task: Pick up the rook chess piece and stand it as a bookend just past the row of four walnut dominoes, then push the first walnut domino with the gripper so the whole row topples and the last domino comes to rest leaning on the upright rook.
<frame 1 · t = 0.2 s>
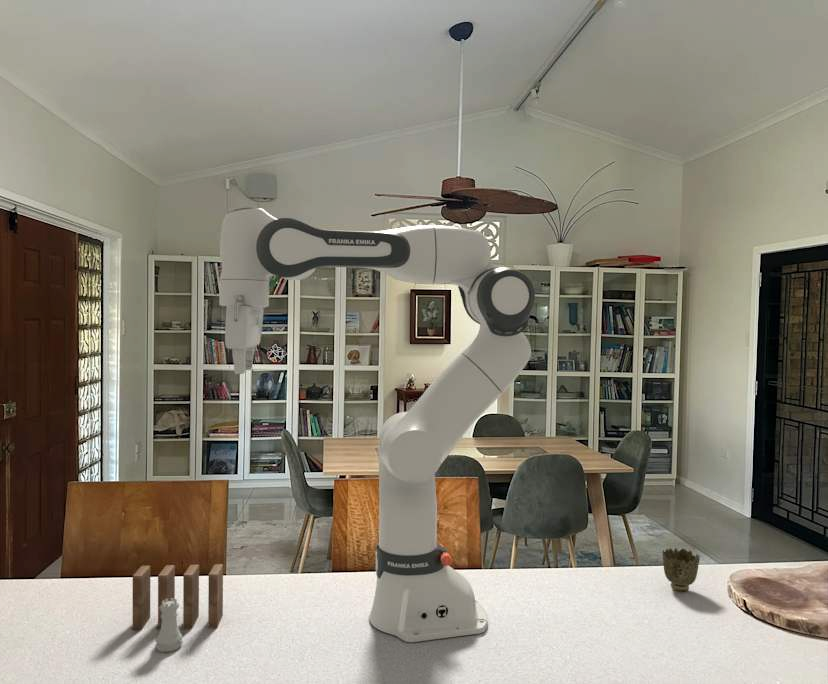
hand: (243, 371, 119), 47 cm above the counter, fingers open, 8 cm apart
domino 1: (215, 621, 121), on the counter
domino 4: (141, 623, 120), on the counter
domino 3: (166, 623, 120), on the counter
rook chess piece: (169, 647, 112), on the counter
cup: (679, 591, 139), on the counter
domino 2: (191, 622, 121), on the counter
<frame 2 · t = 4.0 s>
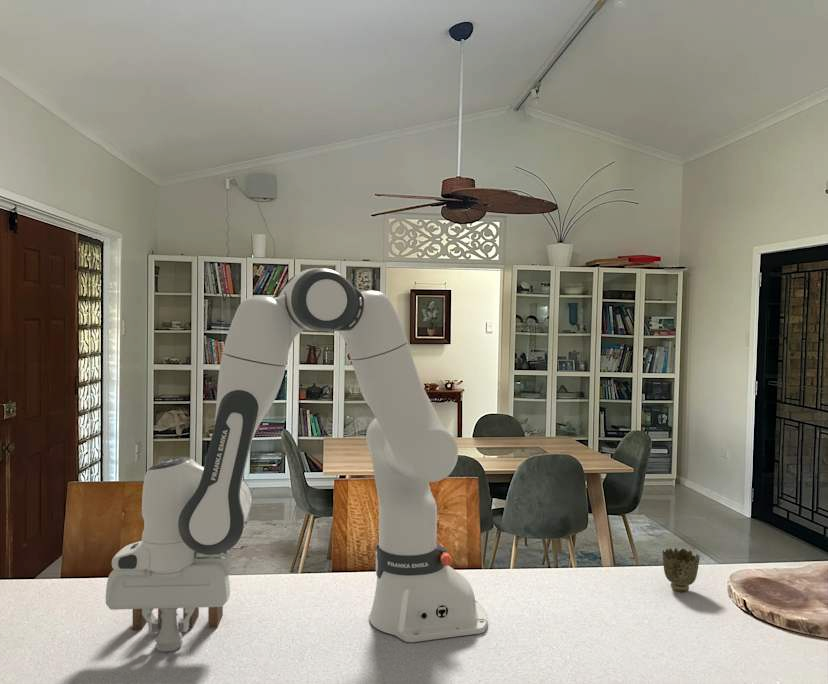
hand: (169, 631, 111), 3 cm above the counter, fingers closed on rook chess piece, 3 cm apart
rook chess piece: (169, 647, 112), on the counter, touching gripper
everything else where it was.
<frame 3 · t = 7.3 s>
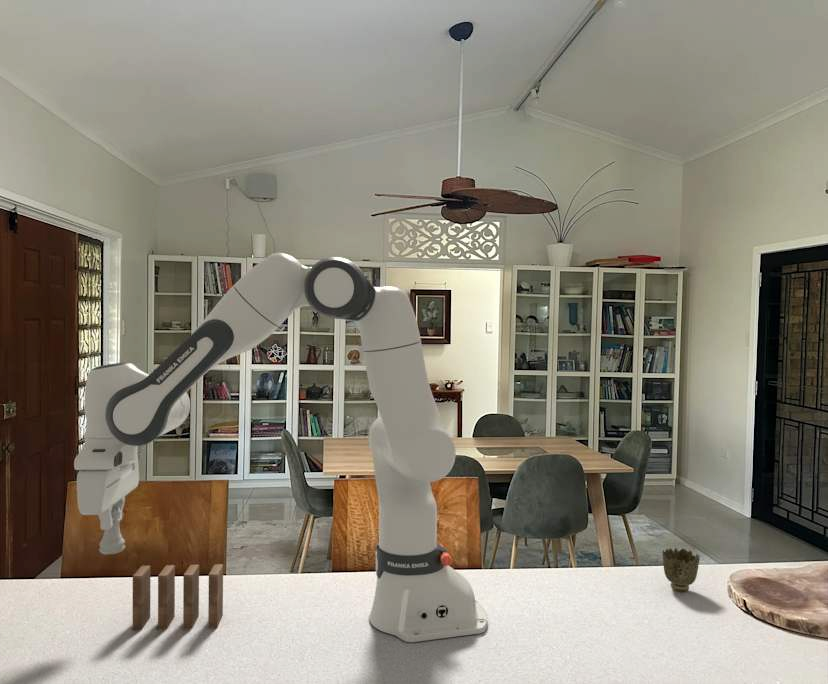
hand: (111, 524, 119), 19 cm above the counter, fingers closed on rook chess piece, 3 cm apart
rook chess piece: (112, 551, 119), point 14 cm above the counter, touching gripper
everything else where it was.
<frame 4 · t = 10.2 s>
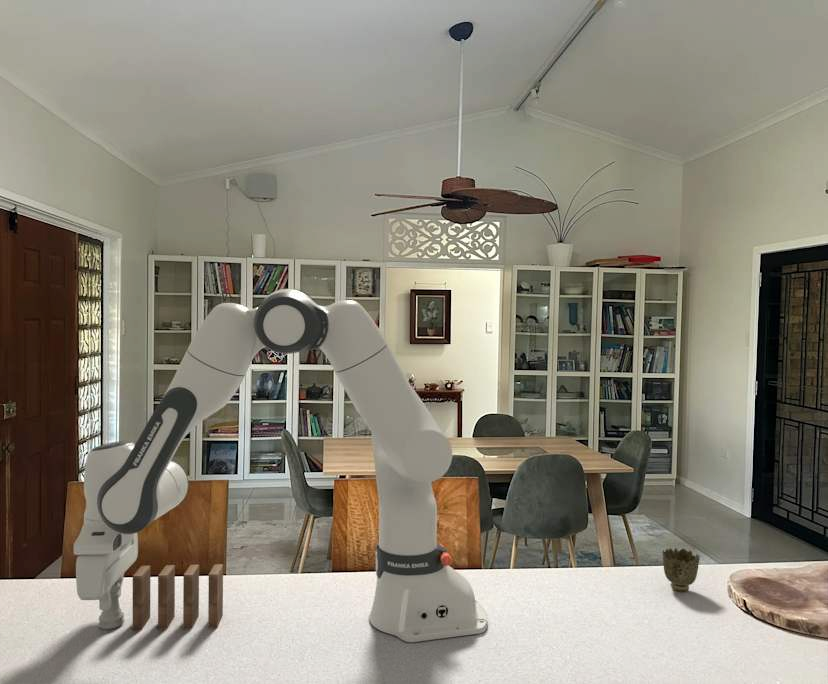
hand: (110, 603, 119), 4 cm above the counter, fingers closed on rook chess piece, 3 cm apart
rook chess piece: (111, 625, 119), on the counter, touching gripper
everything else where it was.
when the fingers open (4 cm above the counter, at t = 10.2 s): rook chess piece stays where it is, on the counter.
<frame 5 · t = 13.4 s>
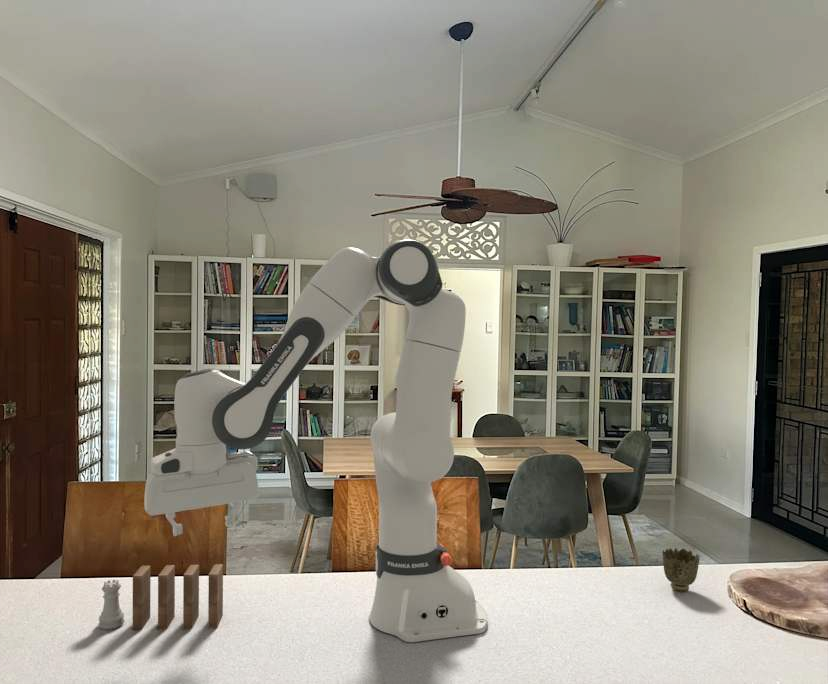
hand: (204, 530, 120), 18 cm above the counter, fingers open, 8 cm apart
rook chess piece: (111, 626, 119), on the counter
everything else where it was.
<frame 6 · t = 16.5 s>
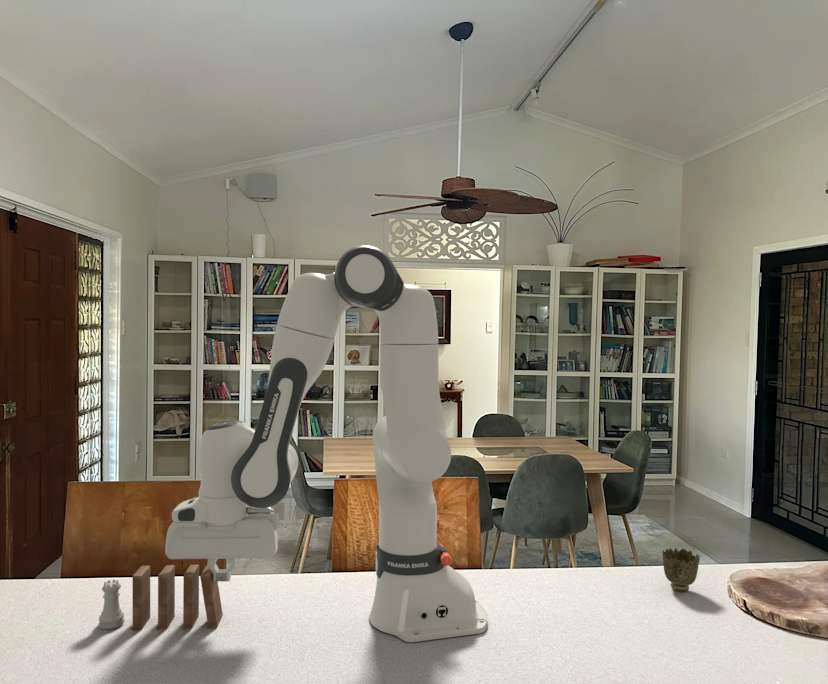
hand: (222, 580, 121), 8 cm above the counter, fingers closed
domino 1: (215, 621, 121), on the counter, tilted 9°
everything else where it was.
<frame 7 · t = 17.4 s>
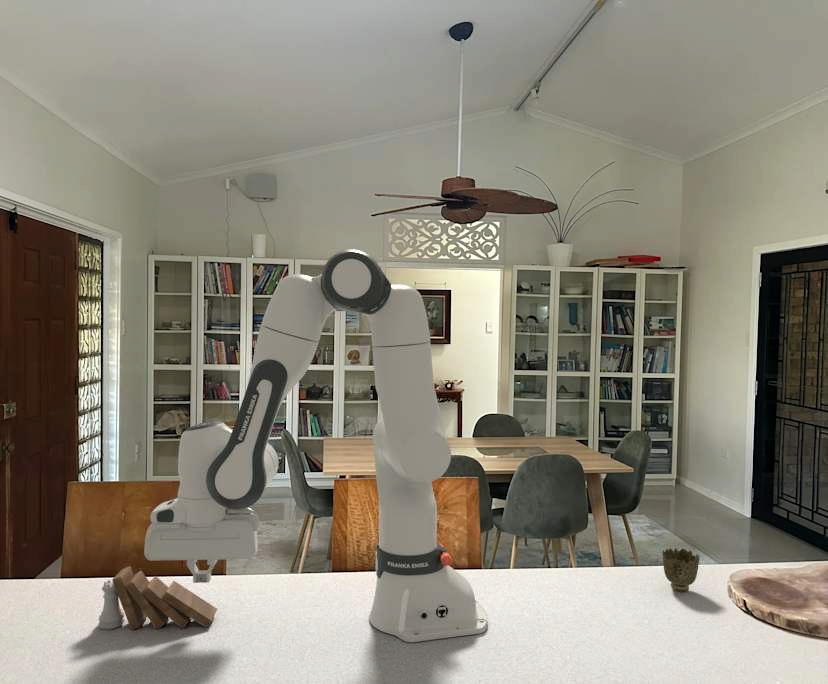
hand: (202, 581, 121), 8 cm above the counter, fingers closed
domino 1: (212, 618, 121), point 1 cm above the counter, tilted 55°, touching domino 2
domino 4: (140, 622, 120), on the counter, tilted 20°, touching domino 3, rook chess piece
domino 3: (164, 620, 120), on the counter, tilted 35°, touching domino 2, domino 4
rook chess piece: (111, 625, 119), on the counter, touching domino 4
domino 2: (188, 619, 121), point 1 cm above the counter, tilted 47°, touching domino 1, domino 3
everything else where it was.
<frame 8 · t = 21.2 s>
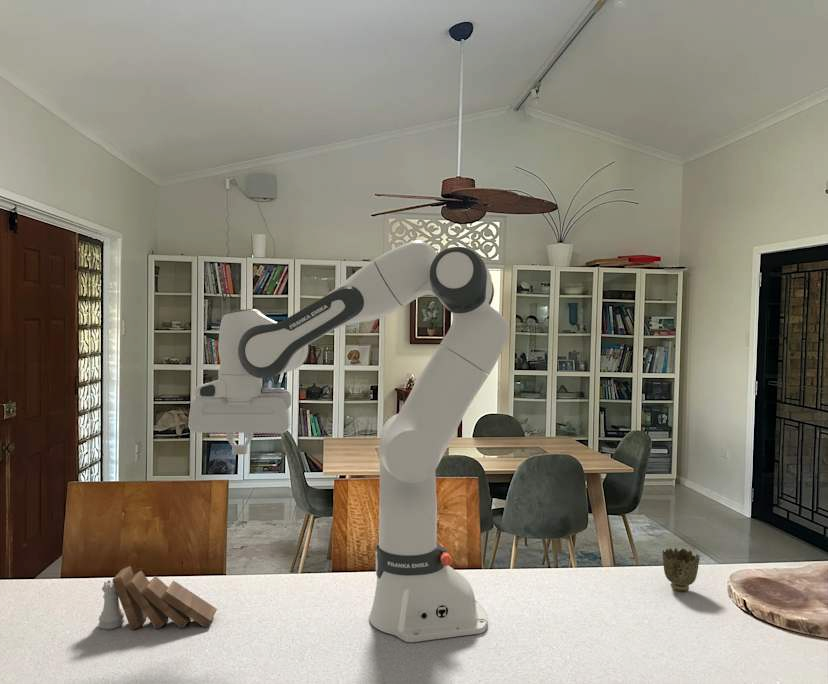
hand: (239, 453, 133), 29 cm above the counter, fingers closed
domino 1: (211, 618, 121), point 1 cm above the counter, tilted 55°
domino 2: (188, 619, 121), point 1 cm above the counter, tilted 47°, touching domino 3
everything else where it was.
at the end: domino 4 tilted 20°; domino 4 touching domino 3, rook chess piece, counter; rook chess piece tilted 0° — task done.
